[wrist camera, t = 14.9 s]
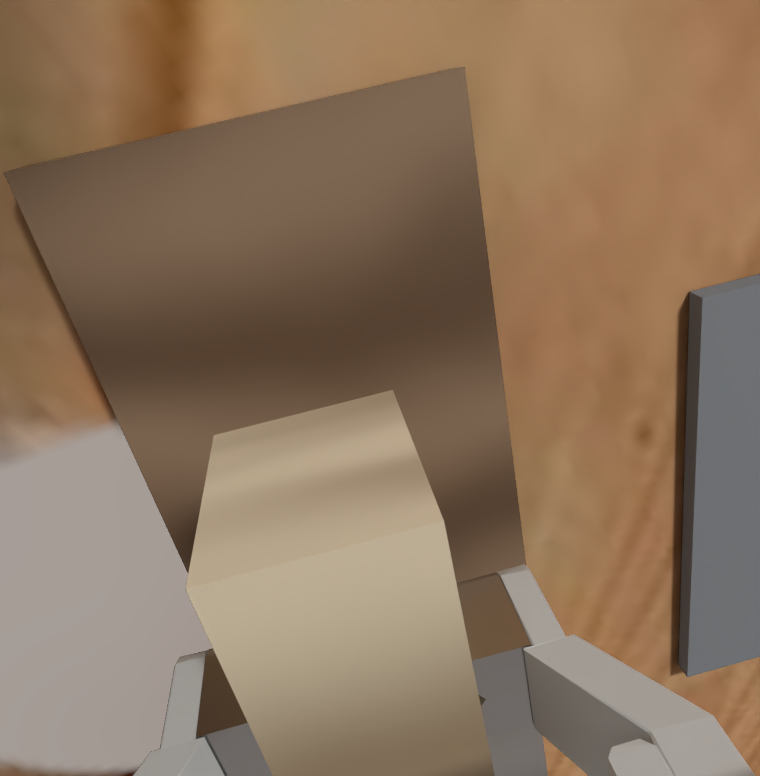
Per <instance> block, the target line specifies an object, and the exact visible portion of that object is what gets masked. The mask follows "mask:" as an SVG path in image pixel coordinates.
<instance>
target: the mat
mask: <svg viewBox="0 0 760 776" xmlns="http://www.w3.org/2000/svg"><path fill="white" fill-rule="evenodd" d="M757 657H760V274H758V275H754V276H750V277H746V278H742V279H738V280H734V281H730V282H726V283H722V284H718V285H714V286H710V287H706V288H702V289H698V290H695V291H691V292H690V298H689V332H688V365H687V398H686V432H685V465H684V498H683V532H682V565H681V598H680V632H679V666H680V667H681V669H682V670H683V672H684V673H685V674H686V676H687V677H690V676H693V675H697V674H700V673H704V672H707V671H711V670H714V669H718V668H721V667H725V666H728V665H732V664H735V663H739V662H742V661H746V660H750V659H753V658H757Z"/></svg>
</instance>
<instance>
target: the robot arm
mask: <svg viewBox="0 0 760 776" xmlns="http://www.w3.org/2000/svg"><path fill="white" fill-rule="evenodd" d="M456 584H457V589H458V594H459V599H460V604H461V609H462V614H463V619H464V624H465V629H466V634H467V639H468V644H469V649H470V654H471V659H472V664H473V669H474V674H475V679H476V684H477V689H478V694H479V699H480V704H481V709H482V714H483V719H484V725H485V730H486V735H487V737H490V736H494V735H498V734H502V733H506V732H510V731H514V730H518V729H522V728H526V727H530V726H534V728H535V729H536V730H537V731H538V732H539V733H541V734H542V735H543V736H544V737H545V738H546V739H547V740H549V741H550V742H551V743H552V744H553V745H554V746H555V747H557V748H558V749H559V750H560V751H561V752H562V753H563V754H565V755H566V756H567V757H568V758H569V759H570V760H571V761H573V762H574V763H575V764H576V765H577V766H578V767H579V768H581V769H582V770H583V771H584V772H585V773H586V774H588V775H589V776H755V774H754V773H753V772H752V770H751V769H750V767H749V766H748V764H747V763H746V762H745V760H744V759H743V757H742V756H741V754H740V753H739V752H738V750H737V749H736V747H735V746H734V745H733V743H732V742H731V740H730V739H729V737H728V736H727V735H726V733H725V732H724V730H723V729H722V727H721V726H720V725H719V723H718V722H717V720H716V719H715V717H714V716H713V715H711V714H710V713H708V712H706V711H704V710H703V709H701V708H699V707H698V706H696V705H694V704H693V703H691V702H689V701H687V700H686V699H684V698H682V697H681V696H679V695H677V694H675V693H674V692H672V691H670V690H669V689H667V688H665V687H663V686H662V685H660V684H658V683H657V682H655V681H653V680H651V679H650V678H648V677H646V676H645V675H643V674H641V673H640V672H638V671H636V670H634V669H633V668H631V667H629V666H628V665H626V664H624V663H622V662H621V661H619V660H617V659H616V658H614V657H612V656H610V655H609V654H607V653H605V652H604V651H602V650H600V649H598V648H597V647H595V646H593V645H592V644H590V643H588V642H587V641H585V640H583V639H581V638H580V637H578V636H576V635H575V634H574V635H570V636H565V634H564V632H563V631H562V629H561V627H560V625H559V623H558V621H557V619H556V618H555V616H554V614H553V612H552V610H551V608H550V606H549V605H548V603H547V601H546V599H545V597H544V595H543V593H542V592H541V590H540V588H539V586H538V584H537V582H536V580H535V579H534V577H533V575H532V573H531V571H530V569H529V568H528V567H527V566H526V565H525V564H523V565H519V566H516V567H512V568H509V569H505V570H502V571H498V572H497V573H495V572H494V573H491V574H487V575H484V576H480V577H477V578H473V579H470V580H466V581H462V582H459V583H456ZM133 776H273V775H272V773H271V771H270V769H269V767H268V765H267V762H266V760H265V758H264V756H263V754H262V752H261V750H260V748H259V745H258V743H257V741H256V739H255V737H254V735H253V733H252V730H251V728H250V726H249V724H248V722H247V720H246V718H245V716H244V713H243V711H242V709H241V707H240V705H239V703H238V701H237V699H236V696H235V694H234V692H233V690H232V688H231V686H230V684H229V682H228V679H227V677H226V675H225V673H224V671H223V669H222V667H221V664H220V662H219V660H218V658H217V656H216V654H215V652H214V650H213V649H209V650H207V651H203V652H199V653H195V654H191V655H187V656H183V657H180V658H179V659H178V661H177V663H176V665H175V667H174V673H173V678H172V684H171V689H170V695H169V700H168V706H167V712H166V717H165V723H164V729H163V734H162V740H161V745H160V749H158V750H155V751H151V752H150V753H149V755H148V756H147V757H146V759H145V760H144V761H143V763H142V764H141V766H140V767H139V768H138V770H137V771H136V772H135V774H134V775H133Z"/></svg>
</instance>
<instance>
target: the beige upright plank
mask: <svg viewBox="0 0 760 776" xmlns="http://www.w3.org/2000/svg"><path fill="white" fill-rule="evenodd" d="M185 590H186V592H187V594H188V596H189V598H190V600H191V602H192V605H193V607H194V609H195V611H196V613H197V615H198V618H199V620H200V622H201V624H202V626H203V628H204V630H205V633H206V635H207V637H208V639H209V641H210V643H211V645H212V647H213V650H214V652H215V654H216V656H217V658H218V660H219V662H220V664H221V667H222V669H223V671H224V673H225V675H226V677H227V679H228V682H229V684H230V686H231V688H232V690H233V692H234V694H235V696H236V699H237V701H238V703H239V705H240V707H241V709H242V711H243V713H244V716H245V718H246V720H247V722H248V724H249V726H250V728H251V730H252V733H253V735H254V737H255V739H256V741H257V743H258V745H259V748H260V750H261V752H262V754H263V756H264V758H265V760H266V762H267V765H268V767H269V769H270V771H271V773H272V775H273V776H548V774H547V767H546V760H545V752H544V745H543V737H542V734H541V733H539V732H538V731H537V730H536V729H535V728H534V726H530V727H526V728H522V729H518V730H514V731H510V732H506V733H502V734H498V735H494V736H490V737H487V735H486V730H485V725H484V719H483V714H482V709H481V704H480V699H479V694H478V689H477V684H476V679H475V674H474V669H473V664H472V659H471V654H470V649H469V644H468V639H467V634H466V629H465V624H464V619H463V614H462V609H461V604H460V599H459V594H458V589H457V584H456V579H455V574H454V568H453V563H452V558H451V553H450V548H449V543H448V538H447V533H446V528H445V523H444V520H443V517H442V515H441V512H440V509H439V507H438V504H437V502H436V499H435V497H434V494H433V492H432V489H431V486H430V484H429V481H428V479H427V476H426V474H425V471H424V468H423V466H422V463H421V461H420V458H419V456H418V453H417V451H416V448H415V445H414V443H413V440H412V438H411V435H410V433H409V430H408V428H407V425H406V422H405V420H404V417H403V415H402V412H401V410H400V407H399V405H398V402H397V399H396V397H395V394H394V392H393V390H390V391H386V392H382V393H378V394H374V395H371V396H367V397H363V398H359V399H355V400H351V401H347V402H343V403H339V404H335V405H331V406H327V407H323V408H319V409H315V410H311V411H307V412H304V413H300V414H296V415H292V416H288V417H284V418H280V419H276V420H272V421H268V422H264V423H260V424H256V425H252V426H248V427H244V428H241V429H237V430H233V431H229V432H225V433H221V434H217V435H214V437H213V442H212V448H211V453H210V458H209V464H208V469H207V475H206V480H205V486H204V491H203V496H202V502H201V507H200V513H199V518H198V524H197V529H196V535H195V540H194V545H193V551H192V556H191V562H190V567H189V573H188V578H187V584H186V589H185Z"/></svg>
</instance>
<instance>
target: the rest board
mask: <svg viewBox="0 0 760 776" xmlns="http://www.w3.org/2000/svg"><path fill="white" fill-rule="evenodd" d="M4 175H5V177H6V179H7V181H8V184H9V186H10V188H11V190H12V192H13V194H14V197H15V199H16V201H17V203H18V205H19V207H20V210H21V212H22V214H23V216H24V218H25V220H26V223H27V225H28V227H29V229H30V231H31V233H32V236H33V238H34V240H35V242H36V244H37V246H38V249H39V251H40V253H41V255H42V257H43V260H44V262H45V264H46V266H47V268H48V270H49V273H50V275H51V277H52V279H53V281H54V283H55V286H56V288H57V290H58V292H59V294H60V296H61V299H62V301H63V303H64V305H65V307H66V309H67V312H68V314H69V316H70V318H71V320H72V322H73V325H74V327H75V329H76V331H77V333H78V336H79V338H80V340H81V342H82V344H83V346H84V349H85V351H86V353H87V355H88V357H89V359H90V362H91V364H92V366H93V368H94V370H95V372H96V375H97V377H98V379H99V381H100V383H101V385H102V388H103V390H104V392H105V394H106V396H107V398H108V401H109V403H110V405H111V407H112V409H113V412H114V414H115V416H116V418H117V420H118V422H119V425H120V427H121V429H122V431H123V433H124V435H125V438H126V440H127V442H128V444H129V446H130V448H131V450H132V453H133V455H134V457H135V459H136V461H137V463H138V466H139V468H140V470H141V472H142V474H143V477H144V479H145V481H146V483H147V485H148V487H149V490H150V492H151V494H152V496H153V498H154V501H155V503H156V505H157V507H158V509H159V511H160V513H161V516H162V518H163V520H164V522H165V524H166V527H167V529H168V531H169V533H170V535H171V537H172V539H173V542H174V544H175V546H176V548H177V550H178V553H179V555H180V557H181V559H182V561H183V563H184V566H185V568H186V570H187V572H188V573H189V567H190V562H191V556H192V551H193V545H194V540H195V535H196V529H197V524H198V518H199V513H200V507H201V502H202V496H203V491H204V486H205V480H206V475H207V469H208V464H209V458H210V453H211V448H212V442H213V437H214V435H217V434H221V433H225V432H229V431H233V430H237V429H241V428H244V427H248V426H252V425H256V424H260V423H264V422H268V421H272V420H276V419H280V418H284V417H288V416H292V415H296V414H300V413H304V412H307V411H311V410H315V409H319V408H323V407H327V406H331V405H335V404H339V403H343V402H347V401H351V400H355V399H359V398H363V397H367V396H371V395H374V394H378V393H382V392H386V391H390V390H393V392H394V394H395V397H396V399H397V402H398V405H399V407H400V410H401V412H402V415H403V417H404V420H405V422H406V425H407V428H408V430H409V433H410V435H411V438H412V440H413V443H414V445H415V448H416V451H417V453H418V456H419V458H420V461H421V463H422V466H423V468H424V471H425V474H426V476H427V479H428V481H429V484H430V486H431V489H432V492H433V494H434V497H435V499H436V502H437V504H438V507H439V509H440V512H441V515H442V517H443V520H444V523H445V528H446V533H447V538H448V543H449V548H450V553H451V558H452V563H453V568H454V574H455V579H456V583H459V582H462V581H466V580H470V579H473V578H477V577H480V576H484V575H487V574H491V573H494V572H495V573H497V572H498V571H502V570H505V569H509V568H512V567H516V566H519V565H523V564H525V565H526V561H525V553H524V545H523V537H522V529H521V521H520V513H519V504H518V496H517V488H516V480H515V472H514V464H513V456H512V448H511V440H510V432H509V423H508V415H507V407H506V399H505V391H504V383H503V375H502V367H501V359H500V351H499V342H498V334H497V326H496V318H495V310H494V302H493V294H492V286H491V278H490V270H489V261H488V253H487V245H486V237H485V229H484V221H483V213H482V205H481V197H480V188H479V180H478V172H477V164H476V156H475V148H474V140H473V132H472V124H471V116H470V107H469V99H468V91H467V83H466V75H465V67H461V68H452V69H448V70H444V71H439V72H435V73H431V74H426V75H422V76H418V77H413V78H409V79H404V80H400V81H396V82H391V83H387V84H383V85H378V86H374V87H370V88H365V89H361V90H357V91H352V92H348V93H343V94H339V95H335V96H330V97H326V98H322V99H317V100H313V101H309V102H304V103H300V104H295V105H291V106H287V107H282V108H278V109H274V110H269V111H265V112H261V113H256V114H252V115H247V116H243V117H239V118H234V119H230V120H226V121H221V122H217V123H213V124H208V125H204V126H199V127H195V128H191V129H186V130H182V131H178V132H173V133H169V134H165V135H160V136H156V137H151V138H147V139H143V140H138V141H134V142H130V143H125V144H121V145H117V146H112V147H108V148H104V149H99V150H95V151H90V152H86V153H82V154H77V155H73V156H69V157H64V158H60V159H56V160H51V161H47V162H42V163H38V164H34V165H29V166H25V167H21V168H17V169H14V170H11V171H8V172H5V173H4Z"/></svg>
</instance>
